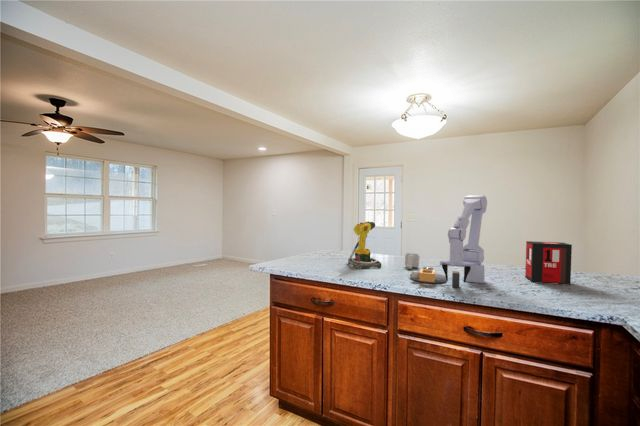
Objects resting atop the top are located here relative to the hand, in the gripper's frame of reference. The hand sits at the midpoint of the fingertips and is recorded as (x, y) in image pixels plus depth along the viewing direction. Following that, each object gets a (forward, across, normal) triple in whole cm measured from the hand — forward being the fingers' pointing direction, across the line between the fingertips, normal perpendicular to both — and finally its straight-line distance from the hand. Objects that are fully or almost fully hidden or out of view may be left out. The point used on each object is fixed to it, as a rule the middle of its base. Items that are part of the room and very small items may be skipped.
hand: (455, 281), depth 144 cm
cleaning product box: (+3, +44, +30) cm, 53 cm away
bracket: (+1, -15, +3) cm, 15 cm away
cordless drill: (+3, -52, +31) cm, 61 cm away
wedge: (+3, 0, 0) cm, 3 cm away
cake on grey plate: (+3, -13, +10) cm, 17 cm away
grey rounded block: (+3, -24, +34) cm, 42 cm away
